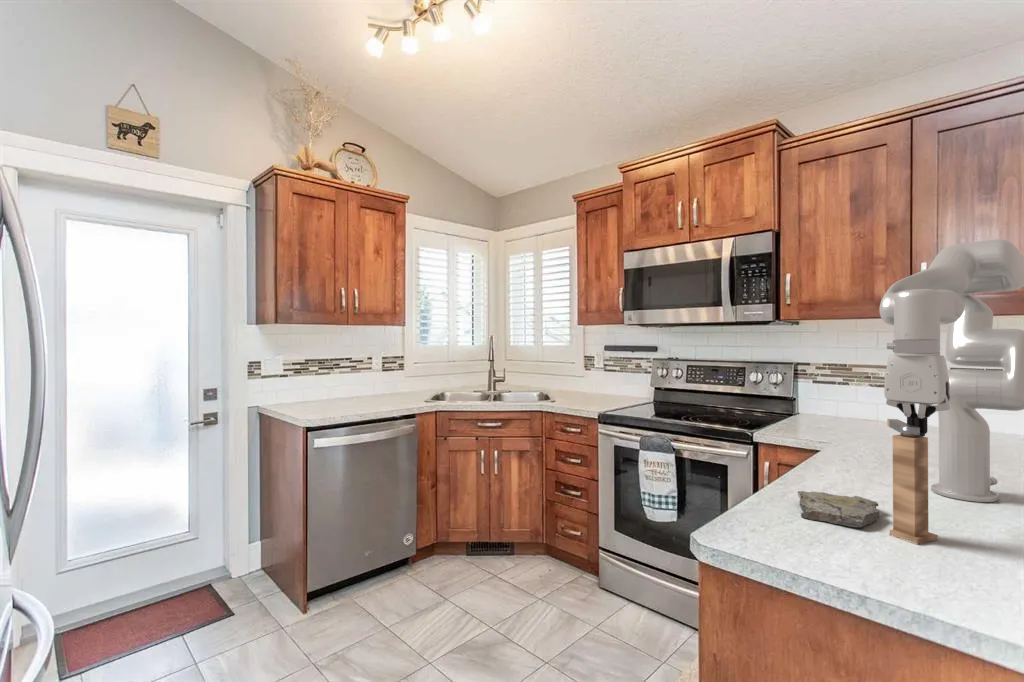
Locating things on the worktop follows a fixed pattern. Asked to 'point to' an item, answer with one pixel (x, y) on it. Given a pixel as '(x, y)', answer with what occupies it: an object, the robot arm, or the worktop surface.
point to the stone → (838, 509)
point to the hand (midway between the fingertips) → (917, 436)
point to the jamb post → (910, 489)
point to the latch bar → (903, 428)
